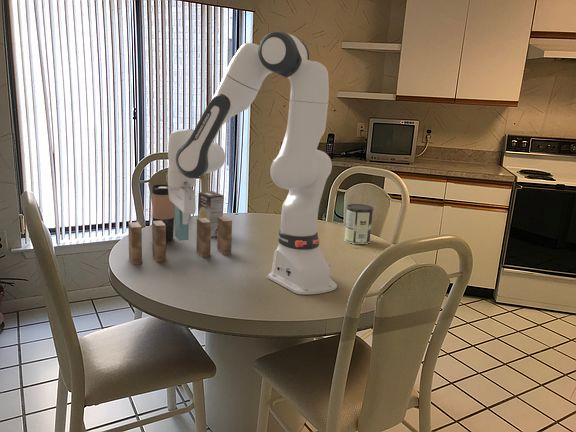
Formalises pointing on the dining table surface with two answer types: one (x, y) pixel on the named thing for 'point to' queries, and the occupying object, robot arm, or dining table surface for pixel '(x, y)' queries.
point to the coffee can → (358, 224)
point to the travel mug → (163, 209)
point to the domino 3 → (203, 237)
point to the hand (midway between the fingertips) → (181, 220)
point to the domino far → (135, 242)
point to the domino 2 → (180, 226)
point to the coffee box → (211, 208)
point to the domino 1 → (159, 240)
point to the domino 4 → (224, 235)
